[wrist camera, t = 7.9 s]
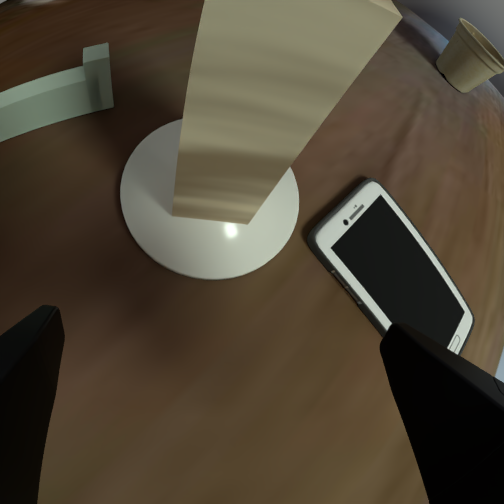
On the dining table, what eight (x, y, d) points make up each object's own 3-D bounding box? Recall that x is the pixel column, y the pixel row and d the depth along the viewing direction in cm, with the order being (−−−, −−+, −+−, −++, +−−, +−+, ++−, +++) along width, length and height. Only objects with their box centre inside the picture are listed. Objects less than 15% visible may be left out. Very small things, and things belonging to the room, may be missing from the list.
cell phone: (427, 398, 18) (437, 399, 17) (298, 240, 18) (305, 235, 17) (469, 321, 21) (477, 319, 20) (364, 178, 21) (372, 171, 20)
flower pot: (416, 44, 32) (448, 7, 24) (454, 64, 35) (485, 34, 27) (445, 92, 30) (486, 53, 22) (481, 109, 33) (518, 79, 25)
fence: (114, 107, 17) (109, 56, 13) (-54, 166, 13) (-83, 133, 9) (112, 92, 17) (108, 42, 13) (-51, 149, 13) (-77, 115, 9)
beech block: (247, 224, 17) (402, 17, 5) (171, 216, 16) (216, -45, 4) (249, 161, 18) (360, -39, 6) (180, 151, 17) (231, -77, 5)
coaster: (309, 158, 20) (313, 154, 19) (270, 306, 16) (273, 305, 16) (167, 103, 18) (167, 97, 18) (91, 239, 15) (88, 235, 14)
